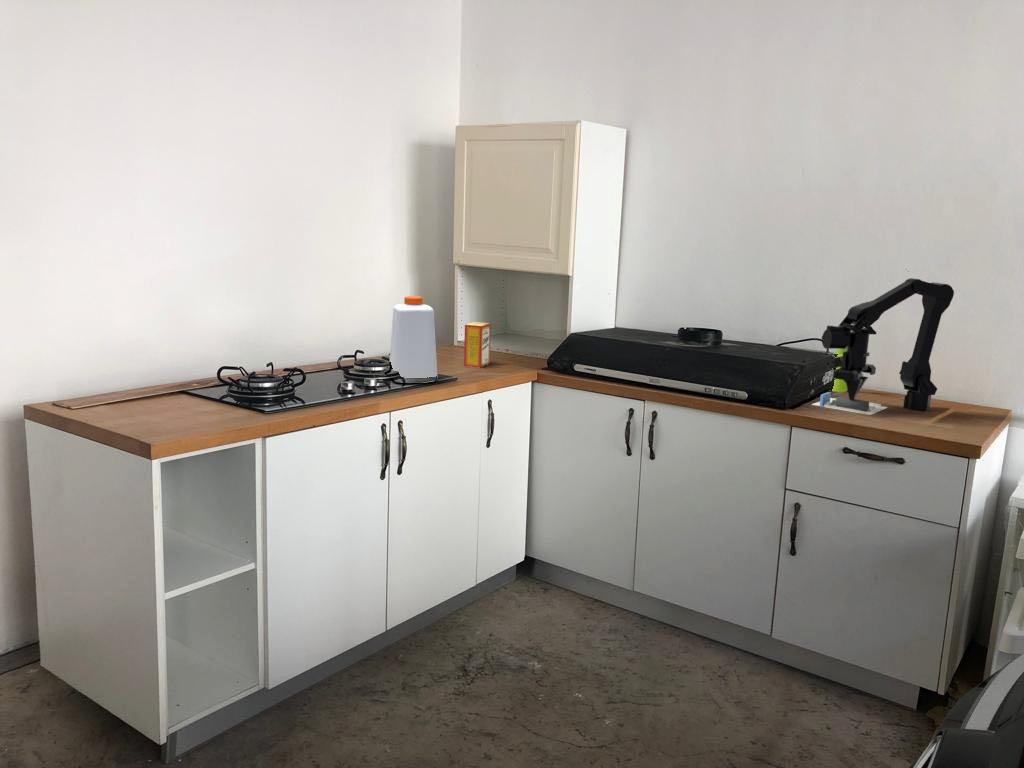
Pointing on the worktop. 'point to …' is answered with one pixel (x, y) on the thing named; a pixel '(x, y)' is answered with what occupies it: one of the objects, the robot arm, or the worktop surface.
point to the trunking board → (831, 403)
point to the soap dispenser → (838, 383)
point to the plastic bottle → (413, 339)
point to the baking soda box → (477, 344)
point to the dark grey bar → (852, 403)
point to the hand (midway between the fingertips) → (851, 399)
